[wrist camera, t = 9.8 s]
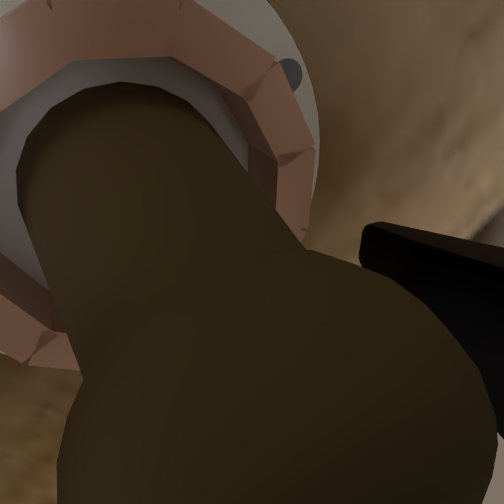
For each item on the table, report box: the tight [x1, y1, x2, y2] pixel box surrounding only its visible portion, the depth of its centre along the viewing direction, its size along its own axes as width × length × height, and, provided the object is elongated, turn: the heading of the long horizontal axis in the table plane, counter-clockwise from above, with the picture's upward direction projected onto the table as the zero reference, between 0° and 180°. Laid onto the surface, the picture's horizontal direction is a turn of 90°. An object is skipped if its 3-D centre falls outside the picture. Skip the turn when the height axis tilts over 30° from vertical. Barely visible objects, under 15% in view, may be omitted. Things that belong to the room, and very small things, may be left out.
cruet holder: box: [0, 0, 320, 371], centre depth 12 cm, size 13×13×3 cm
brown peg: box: [16, 81, 498, 504], centre depth 8 cm, size 6×6×11 cm
